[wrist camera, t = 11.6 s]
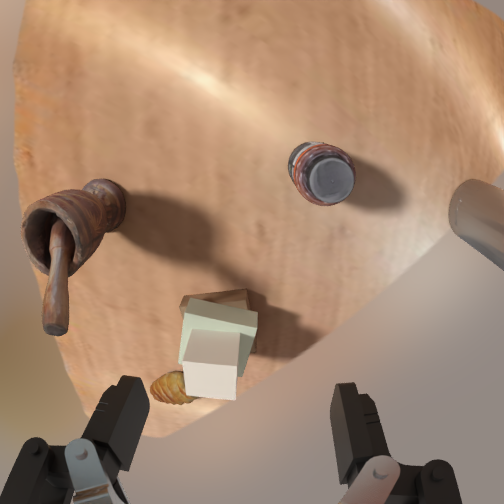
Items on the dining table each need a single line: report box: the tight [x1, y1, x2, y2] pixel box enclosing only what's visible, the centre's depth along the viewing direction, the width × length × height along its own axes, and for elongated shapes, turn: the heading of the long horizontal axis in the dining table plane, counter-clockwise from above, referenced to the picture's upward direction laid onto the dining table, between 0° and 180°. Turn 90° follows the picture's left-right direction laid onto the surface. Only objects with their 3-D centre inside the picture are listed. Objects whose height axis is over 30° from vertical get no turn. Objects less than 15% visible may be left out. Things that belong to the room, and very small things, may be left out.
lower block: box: [179, 289, 256, 353], centre depth 43 cm, size 9×9×4 cm
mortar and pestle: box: [21, 179, 125, 336], centre depth 29 cm, size 12×9×20 cm
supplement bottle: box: [288, 142, 356, 206], centre depth 30 cm, size 6×6×11 cm
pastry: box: [150, 371, 198, 405], centre depth 49 cm, size 9×7×4 cm
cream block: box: [182, 329, 240, 400], centre depth 36 cm, size 6×6×6 cm
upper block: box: [178, 298, 258, 377], centre depth 40 cm, size 9×9×4 cm
